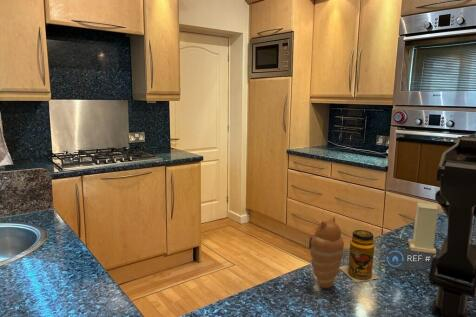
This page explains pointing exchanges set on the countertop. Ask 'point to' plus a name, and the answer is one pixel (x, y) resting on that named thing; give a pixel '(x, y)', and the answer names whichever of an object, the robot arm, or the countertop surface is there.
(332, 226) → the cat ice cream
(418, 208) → the tan rectangular pillar
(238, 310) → the countertop surface
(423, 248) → the square plate with knob
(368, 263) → the condiment
